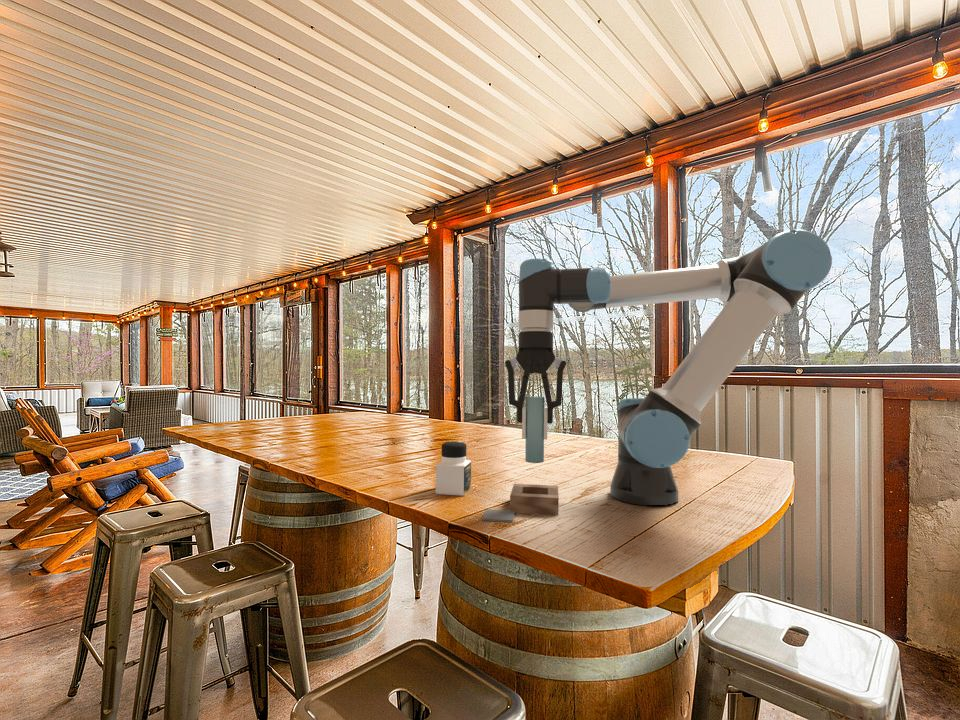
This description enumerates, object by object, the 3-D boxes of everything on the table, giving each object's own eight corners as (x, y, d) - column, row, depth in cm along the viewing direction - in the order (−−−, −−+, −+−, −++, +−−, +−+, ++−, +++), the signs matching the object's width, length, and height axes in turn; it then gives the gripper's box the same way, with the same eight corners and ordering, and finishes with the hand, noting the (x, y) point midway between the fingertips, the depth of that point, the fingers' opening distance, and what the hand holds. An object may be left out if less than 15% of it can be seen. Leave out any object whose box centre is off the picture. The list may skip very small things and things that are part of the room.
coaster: (514, 512, 98) (514, 510, 98) (512, 522, 92) (512, 520, 92) (486, 511, 99) (486, 509, 99) (482, 520, 93) (482, 518, 93)
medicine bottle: (464, 496, 110) (464, 445, 110) (435, 494, 111) (435, 443, 111) (471, 488, 117) (471, 440, 117) (443, 486, 118) (443, 439, 118)
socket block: (557, 501, 106) (557, 485, 106) (558, 515, 96) (558, 498, 96) (513, 498, 108) (513, 483, 108) (510, 512, 98) (510, 495, 98)
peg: (543, 459, 104) (544, 396, 104) (543, 463, 100) (544, 397, 100) (525, 459, 104) (526, 396, 105) (524, 462, 100) (525, 397, 101)
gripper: (574, 332, 105) (573, 436, 105) (499, 332, 107) (498, 434, 107) (576, 329, 97) (575, 442, 97) (495, 329, 100) (494, 439, 100)
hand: (534, 437), depth 102 cm, fingers closed on peg, 4 cm apart
